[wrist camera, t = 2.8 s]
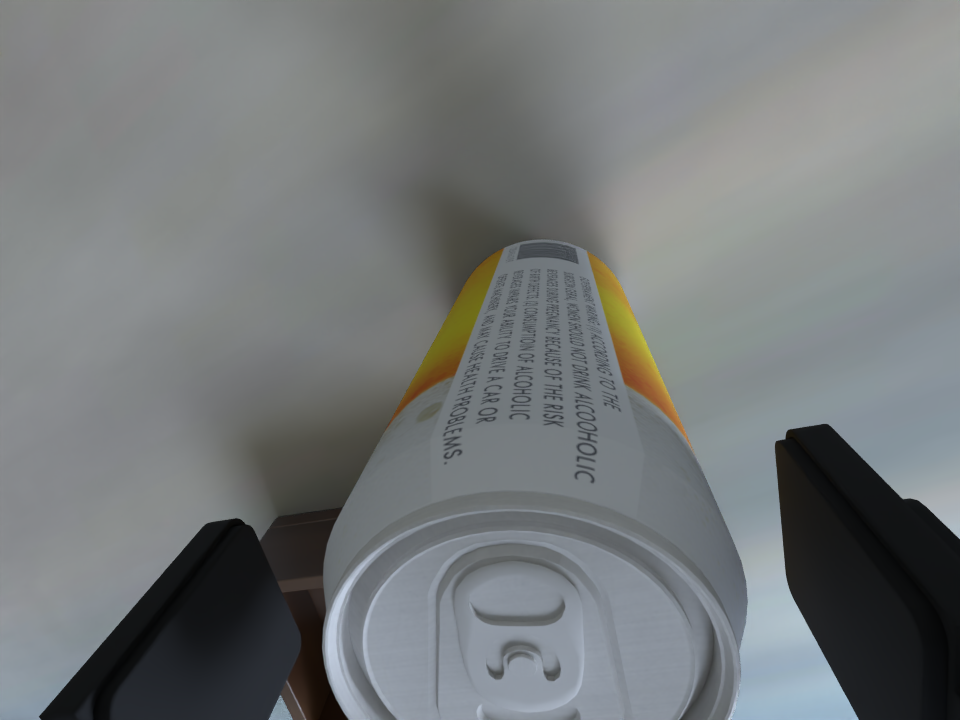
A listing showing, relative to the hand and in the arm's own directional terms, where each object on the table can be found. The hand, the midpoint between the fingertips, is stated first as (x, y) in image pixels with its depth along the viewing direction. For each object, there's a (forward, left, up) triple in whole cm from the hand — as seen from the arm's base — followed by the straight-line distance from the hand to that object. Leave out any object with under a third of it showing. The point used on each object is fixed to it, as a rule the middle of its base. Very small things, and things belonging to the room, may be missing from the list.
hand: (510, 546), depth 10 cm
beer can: (0, 0, -12) cm, 12 cm away
